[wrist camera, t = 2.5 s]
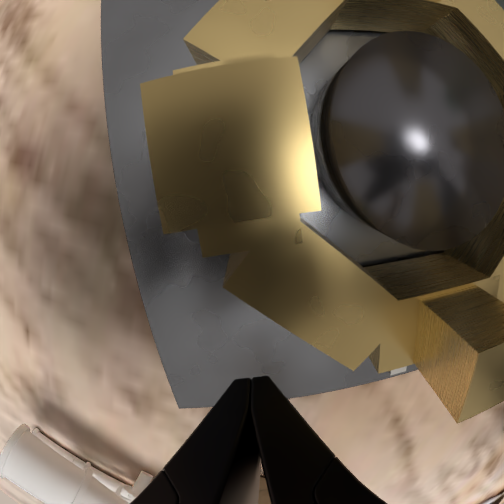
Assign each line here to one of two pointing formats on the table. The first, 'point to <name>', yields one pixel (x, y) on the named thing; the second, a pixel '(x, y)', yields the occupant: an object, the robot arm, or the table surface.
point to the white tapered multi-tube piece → (60, 473)
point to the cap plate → (329, 181)
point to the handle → (263, 492)
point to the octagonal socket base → (308, 198)
